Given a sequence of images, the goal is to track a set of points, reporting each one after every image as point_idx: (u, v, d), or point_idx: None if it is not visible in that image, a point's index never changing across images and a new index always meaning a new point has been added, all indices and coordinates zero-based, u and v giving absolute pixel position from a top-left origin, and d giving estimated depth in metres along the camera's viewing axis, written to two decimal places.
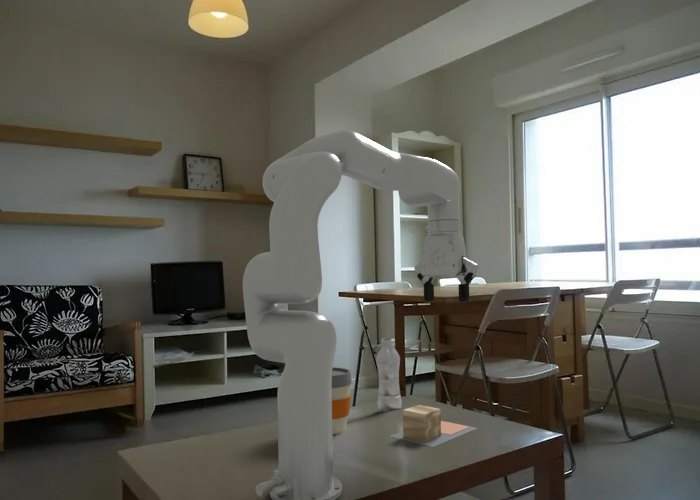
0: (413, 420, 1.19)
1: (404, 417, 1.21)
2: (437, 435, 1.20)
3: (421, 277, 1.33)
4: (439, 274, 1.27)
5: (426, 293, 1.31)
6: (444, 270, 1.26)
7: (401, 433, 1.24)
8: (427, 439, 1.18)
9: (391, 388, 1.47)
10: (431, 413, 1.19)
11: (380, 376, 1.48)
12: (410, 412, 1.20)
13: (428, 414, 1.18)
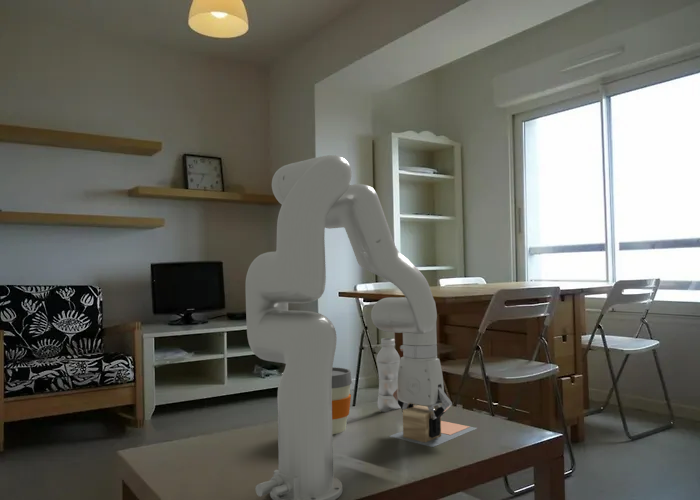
0: (413, 420, 1.19)
1: (404, 417, 1.21)
2: None
3: (402, 404, 1.24)
4: (414, 402, 1.20)
5: None
6: (419, 399, 1.19)
7: (401, 433, 1.24)
8: (427, 439, 1.18)
9: (391, 388, 1.47)
10: None
11: (380, 376, 1.48)
12: (410, 412, 1.20)
13: (428, 414, 1.18)
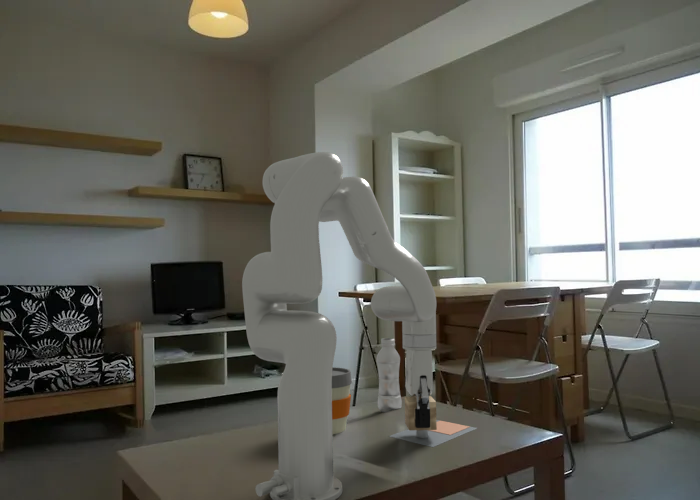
0: (406, 407, 1.21)
1: (405, 404, 1.24)
2: None
3: None
4: (407, 390, 1.21)
5: None
6: (408, 388, 1.20)
7: (401, 433, 1.24)
8: (412, 428, 1.18)
9: (391, 388, 1.47)
10: None
11: (380, 376, 1.48)
12: (406, 399, 1.22)
13: (415, 403, 1.18)
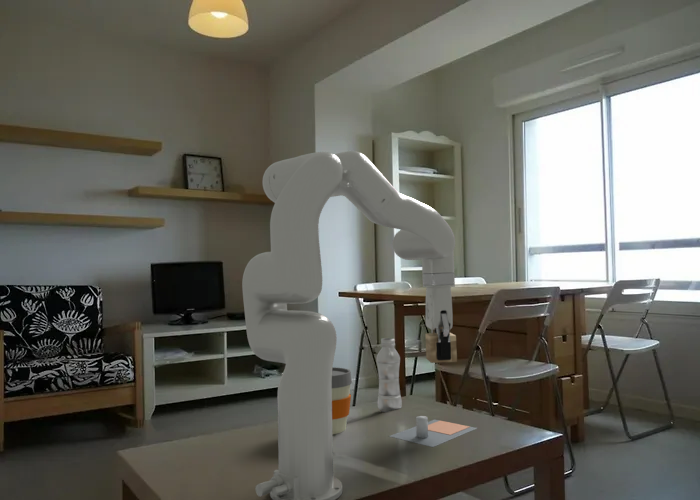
0: (427, 342, 1.28)
1: (426, 340, 1.31)
2: (450, 360, 1.25)
3: None
4: (428, 327, 1.28)
5: None
6: (429, 323, 1.27)
7: (401, 433, 1.24)
8: (434, 360, 1.25)
9: (391, 388, 1.47)
10: None
11: (380, 376, 1.48)
12: (427, 335, 1.29)
13: (436, 337, 1.25)
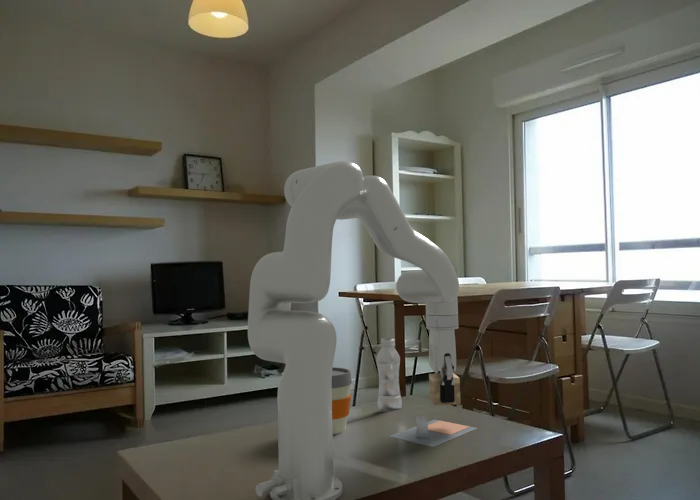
0: (431, 383, 1.28)
1: (429, 381, 1.31)
2: (454, 402, 1.25)
3: None
4: (432, 368, 1.28)
5: None
6: (432, 365, 1.27)
7: (401, 433, 1.24)
8: (438, 403, 1.25)
9: (391, 388, 1.47)
10: None
11: (380, 376, 1.48)
12: (430, 376, 1.29)
13: (439, 380, 1.25)
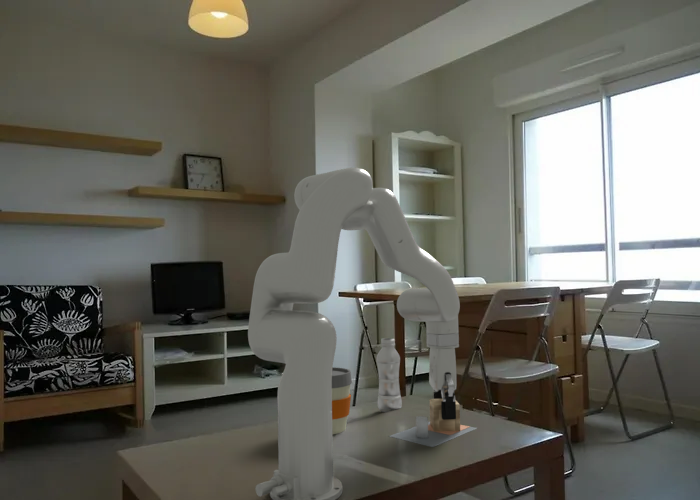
0: (431, 409, 1.28)
1: None
2: (454, 428, 1.25)
3: None
4: (432, 386, 1.28)
5: None
6: (433, 384, 1.27)
7: (401, 433, 1.24)
8: (437, 429, 1.25)
9: (391, 388, 1.47)
10: None
11: (380, 376, 1.48)
12: (431, 402, 1.29)
13: (439, 406, 1.25)
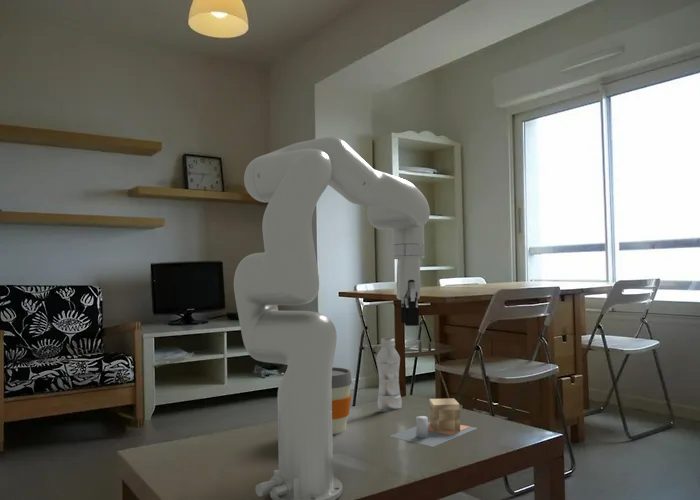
0: (431, 409, 1.28)
1: None
2: (454, 428, 1.25)
3: None
4: (397, 297, 1.30)
5: (401, 315, 1.35)
6: (398, 293, 1.29)
7: (401, 433, 1.24)
8: (437, 429, 1.25)
9: (391, 388, 1.47)
10: (444, 406, 1.25)
11: (380, 376, 1.48)
12: (431, 402, 1.29)
13: (439, 406, 1.25)
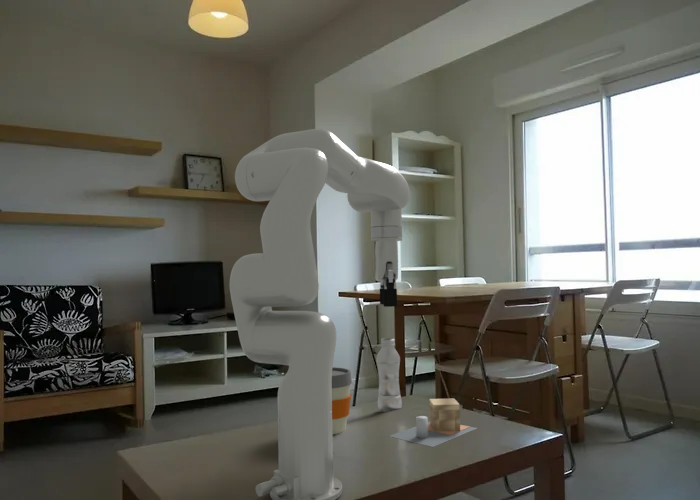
0: (431, 409, 1.28)
1: None
2: (454, 428, 1.25)
3: None
4: (376, 279, 1.32)
5: (380, 297, 1.37)
6: (376, 275, 1.31)
7: (401, 433, 1.24)
8: (437, 429, 1.25)
9: (391, 388, 1.47)
10: (444, 406, 1.25)
11: (380, 376, 1.48)
12: (431, 402, 1.29)
13: (439, 406, 1.25)
